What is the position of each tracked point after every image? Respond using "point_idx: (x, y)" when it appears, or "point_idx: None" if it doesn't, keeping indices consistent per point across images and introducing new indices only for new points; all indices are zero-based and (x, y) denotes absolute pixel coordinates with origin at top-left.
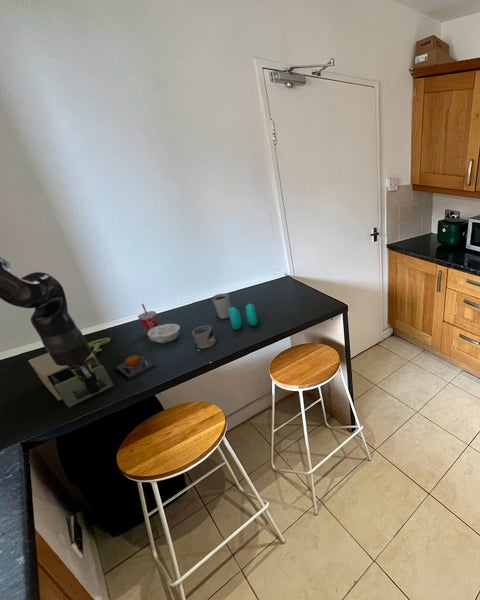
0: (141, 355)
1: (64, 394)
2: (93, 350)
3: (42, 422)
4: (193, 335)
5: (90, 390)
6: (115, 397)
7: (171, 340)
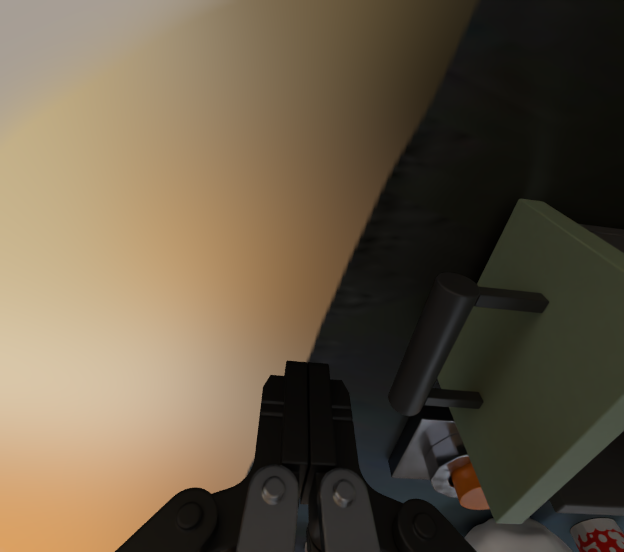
0: None
1: (581, 268)
2: None
3: (595, 36)
4: None
5: (284, 400)
6: (351, 330)
7: (466, 536)
